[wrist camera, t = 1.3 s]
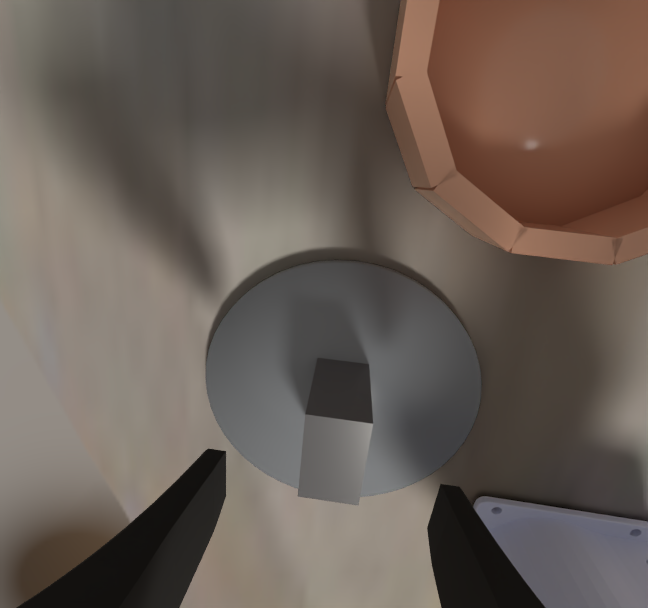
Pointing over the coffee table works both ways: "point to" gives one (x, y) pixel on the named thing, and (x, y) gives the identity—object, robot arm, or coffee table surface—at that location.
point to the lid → (343, 379)
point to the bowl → (528, 121)
